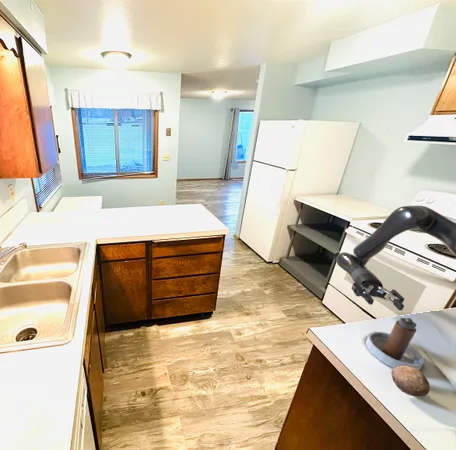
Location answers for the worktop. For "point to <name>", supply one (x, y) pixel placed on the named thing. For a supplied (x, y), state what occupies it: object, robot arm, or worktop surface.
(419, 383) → the brown oval lump
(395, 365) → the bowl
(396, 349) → the pepper mill
